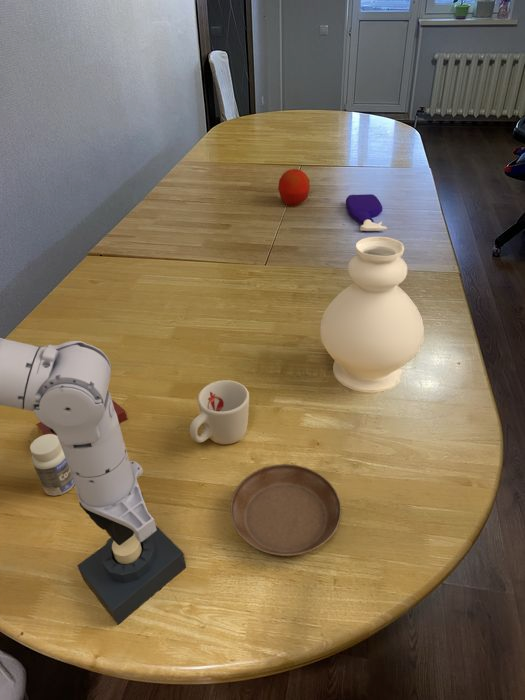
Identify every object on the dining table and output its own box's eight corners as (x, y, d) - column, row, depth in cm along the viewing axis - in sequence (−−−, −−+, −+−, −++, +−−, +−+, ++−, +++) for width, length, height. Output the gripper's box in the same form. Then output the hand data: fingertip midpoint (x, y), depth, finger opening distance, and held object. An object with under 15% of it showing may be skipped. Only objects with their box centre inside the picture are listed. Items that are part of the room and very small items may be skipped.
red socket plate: (61, 464, 80) (54, 446, 78) (34, 435, 85) (27, 417, 83) (131, 422, 87) (127, 404, 85) (102, 398, 92) (97, 380, 90)
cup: (212, 469, 78) (206, 431, 73) (179, 443, 83) (172, 406, 78) (261, 431, 84) (259, 394, 79) (228, 409, 89) (224, 373, 84)
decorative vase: (339, 335, 106) (345, 218, 91) (426, 357, 99) (449, 233, 84) (303, 385, 93) (305, 259, 79) (401, 414, 86) (422, 281, 72)
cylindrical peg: (124, 569, 60) (121, 561, 59) (109, 552, 62) (106, 544, 61) (147, 551, 62) (144, 543, 61) (132, 535, 64) (129, 527, 63)
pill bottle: (71, 496, 75) (55, 456, 70) (39, 496, 75) (21, 456, 70) (81, 471, 79) (66, 431, 74) (50, 471, 79) (34, 431, 74)
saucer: (278, 460, 79) (278, 447, 77) (361, 511, 71) (362, 499, 69) (209, 523, 70) (207, 511, 69) (294, 591, 62) (294, 578, 60)
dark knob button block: (117, 625, 59) (108, 602, 57) (83, 580, 64) (73, 556, 61) (186, 567, 65) (181, 543, 62) (149, 529, 70) (143, 506, 67)
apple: (312, 207, 166) (313, 171, 159) (281, 210, 165) (281, 173, 158) (306, 197, 174) (306, 162, 167) (276, 199, 173) (275, 164, 166)
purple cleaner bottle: (344, 194, 166) (353, 225, 146) (378, 193, 165) (392, 224, 146) (343, 203, 167) (353, 235, 148) (377, 202, 167) (391, 233, 147)
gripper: (172, 471, 50) (189, 553, 58) (95, 403, 59) (119, 483, 67) (108, 515, 46) (136, 596, 54) (36, 436, 55) (69, 516, 63)
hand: (123, 536), depth 60 cm, fingers closed
